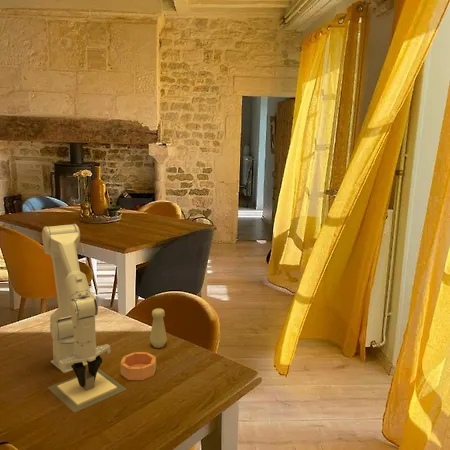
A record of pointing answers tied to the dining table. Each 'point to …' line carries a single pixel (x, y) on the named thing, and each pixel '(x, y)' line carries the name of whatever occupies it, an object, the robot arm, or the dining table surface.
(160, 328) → the salt shaker
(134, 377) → the bowl
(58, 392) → the mat
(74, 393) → the lid
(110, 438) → the dining table surface
